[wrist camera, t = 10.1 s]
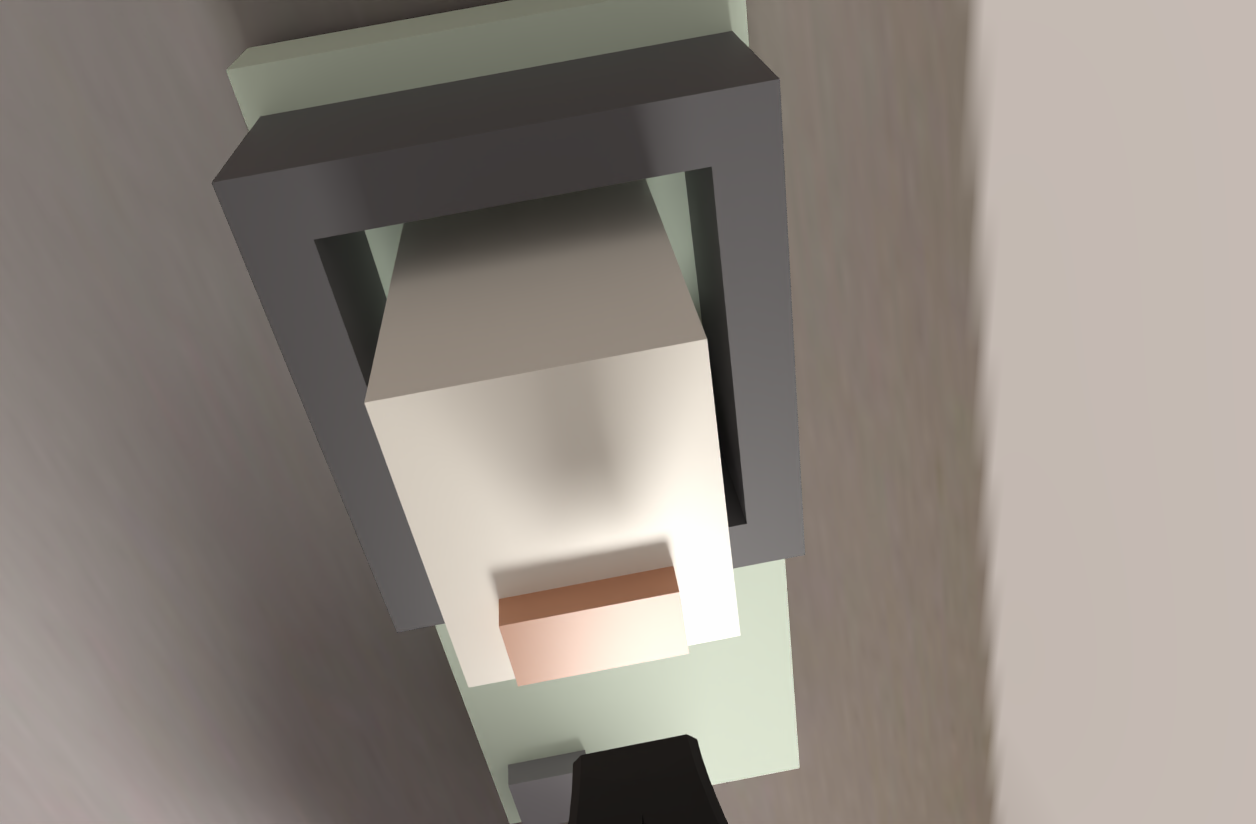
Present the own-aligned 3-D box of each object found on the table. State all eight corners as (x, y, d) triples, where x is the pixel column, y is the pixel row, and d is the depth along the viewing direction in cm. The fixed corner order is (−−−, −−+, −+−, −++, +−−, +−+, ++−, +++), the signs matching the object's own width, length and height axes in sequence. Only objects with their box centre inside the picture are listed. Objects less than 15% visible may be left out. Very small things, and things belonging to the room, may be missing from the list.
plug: (675, 409, 19) (748, 662, 13) (476, 447, 19) (467, 715, 13) (641, 166, 16) (715, 360, 10) (406, 209, 16) (358, 427, 10)
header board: (785, 722, 27) (832, 873, 23) (509, 775, 27) (511, 936, 23) (724, -38, 16) (795, 15, 12) (247, 48, 15) (168, 128, 12)
